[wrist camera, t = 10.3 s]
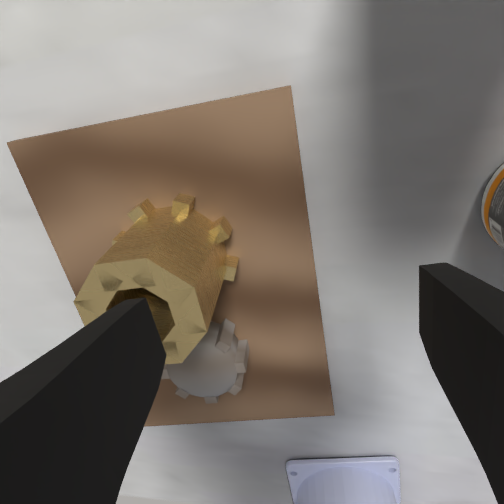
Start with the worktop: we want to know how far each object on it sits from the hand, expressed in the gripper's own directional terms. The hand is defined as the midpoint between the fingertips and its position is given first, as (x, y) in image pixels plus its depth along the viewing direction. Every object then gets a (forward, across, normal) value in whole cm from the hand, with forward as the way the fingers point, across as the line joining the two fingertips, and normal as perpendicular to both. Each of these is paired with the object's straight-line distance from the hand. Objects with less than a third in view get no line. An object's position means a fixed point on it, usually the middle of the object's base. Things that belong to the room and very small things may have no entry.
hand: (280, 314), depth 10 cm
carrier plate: (+10, +6, +5) cm, 13 cm away
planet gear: (+10, +6, +2) cm, 11 cm away
